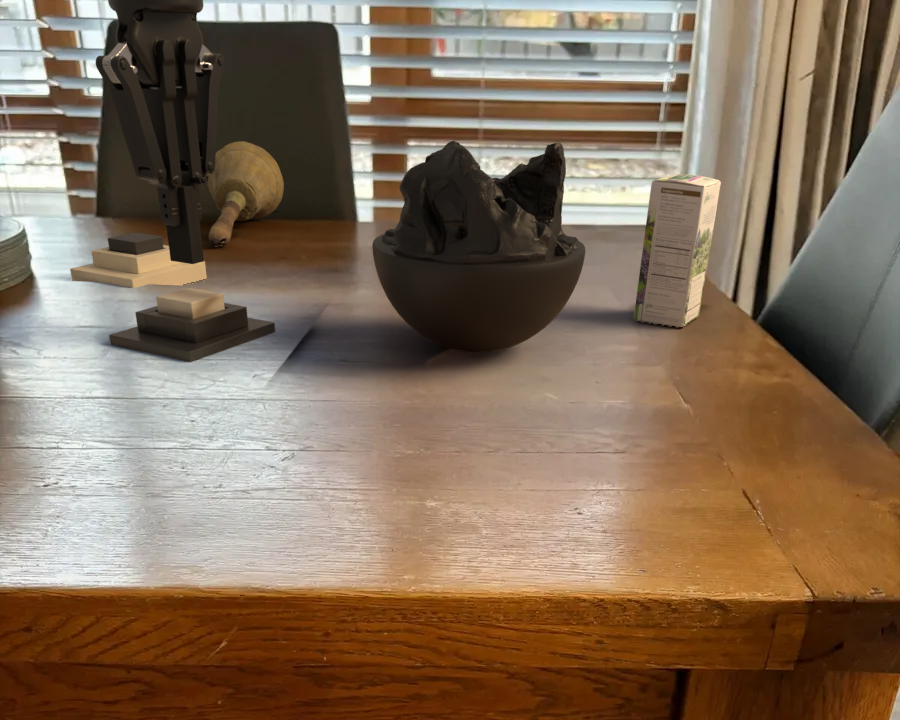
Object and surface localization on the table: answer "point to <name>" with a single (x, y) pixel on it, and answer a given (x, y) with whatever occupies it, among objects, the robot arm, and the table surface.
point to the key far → (135, 243)
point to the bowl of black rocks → (480, 250)
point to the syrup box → (676, 249)
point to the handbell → (243, 187)
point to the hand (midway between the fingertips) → (187, 260)
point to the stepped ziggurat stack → (138, 269)
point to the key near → (190, 303)
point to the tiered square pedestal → (191, 333)
